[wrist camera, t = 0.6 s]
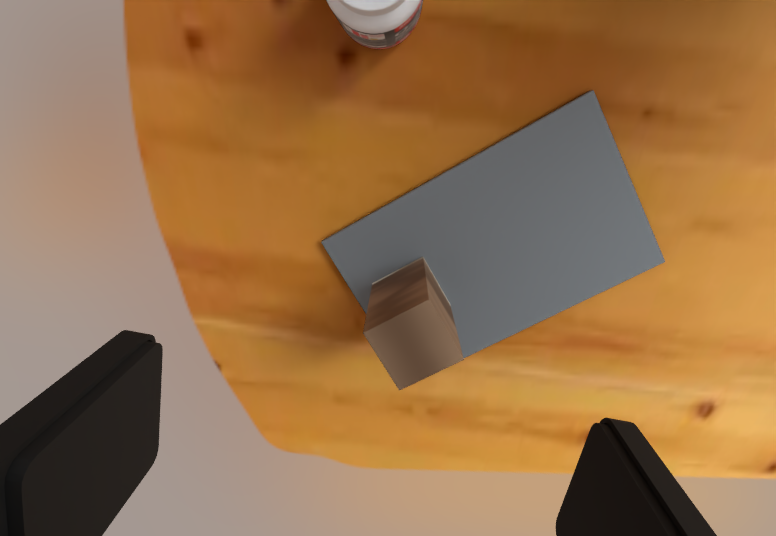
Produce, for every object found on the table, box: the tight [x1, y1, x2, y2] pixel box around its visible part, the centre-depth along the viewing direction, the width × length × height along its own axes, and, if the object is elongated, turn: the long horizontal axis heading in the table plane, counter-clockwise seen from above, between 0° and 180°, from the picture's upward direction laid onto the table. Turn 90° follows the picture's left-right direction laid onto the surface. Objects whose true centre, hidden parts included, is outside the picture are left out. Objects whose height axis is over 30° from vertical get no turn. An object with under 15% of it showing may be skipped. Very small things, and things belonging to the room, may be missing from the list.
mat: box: [321, 90, 665, 358], centre depth 37 cm, size 22×14×1 cm, turn 120°
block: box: [363, 257, 464, 390], centre depth 33 cm, size 4×4×9 cm
